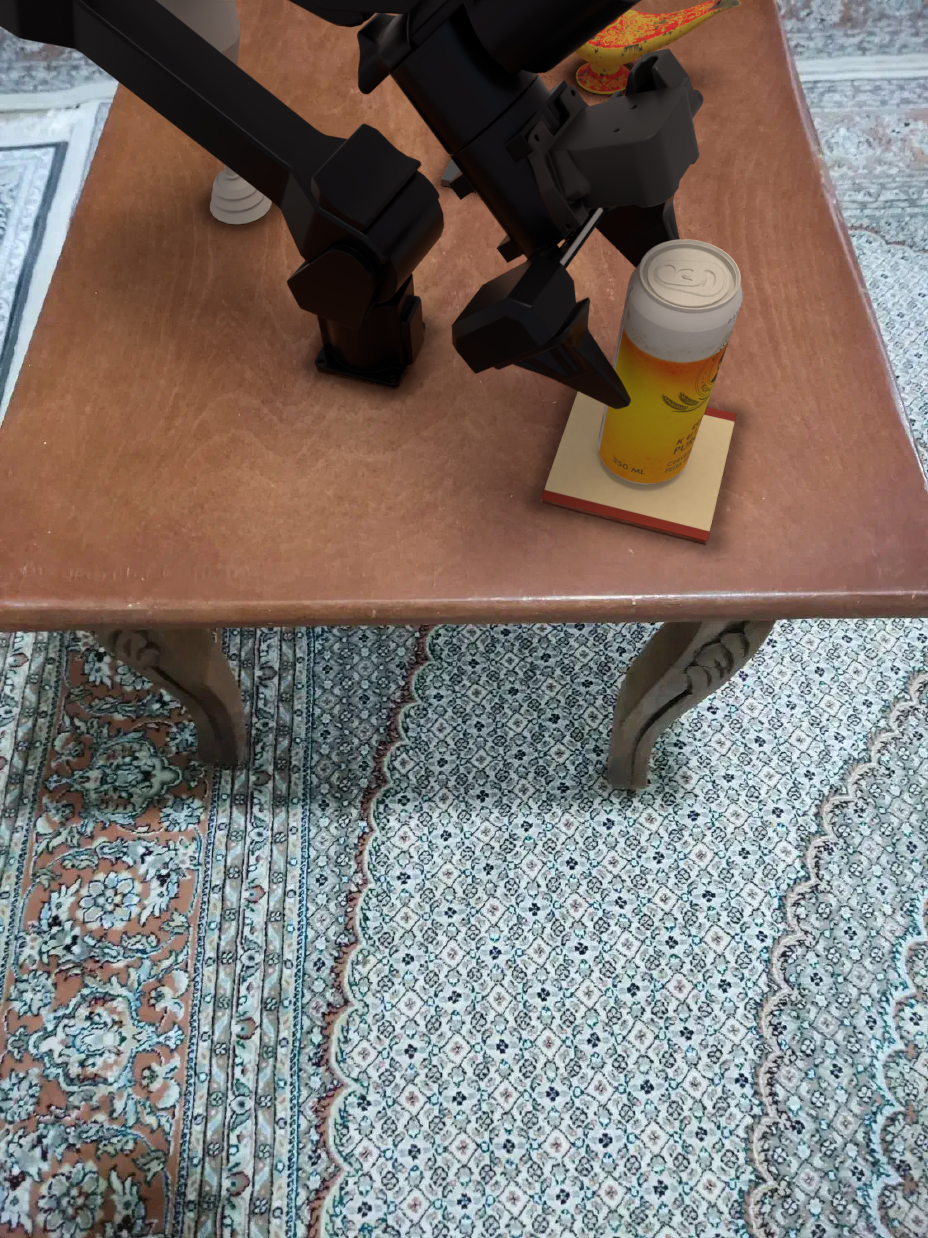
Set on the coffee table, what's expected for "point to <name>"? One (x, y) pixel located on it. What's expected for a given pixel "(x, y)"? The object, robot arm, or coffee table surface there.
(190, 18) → the chalice
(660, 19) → the magic lamp
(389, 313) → the robot arm
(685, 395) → the beer can
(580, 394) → the beige and red tile
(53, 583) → the coffee table surface
